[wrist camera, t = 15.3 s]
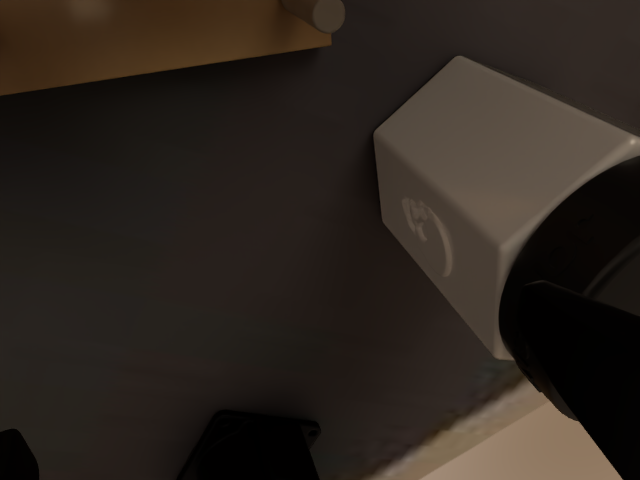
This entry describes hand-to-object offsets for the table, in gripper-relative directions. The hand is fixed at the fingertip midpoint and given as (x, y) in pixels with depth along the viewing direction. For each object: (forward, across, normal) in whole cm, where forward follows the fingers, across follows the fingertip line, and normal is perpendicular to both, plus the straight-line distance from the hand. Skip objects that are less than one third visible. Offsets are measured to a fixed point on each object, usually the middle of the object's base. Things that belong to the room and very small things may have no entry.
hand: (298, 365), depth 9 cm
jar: (+13, -11, +4) cm, 17 cm away
